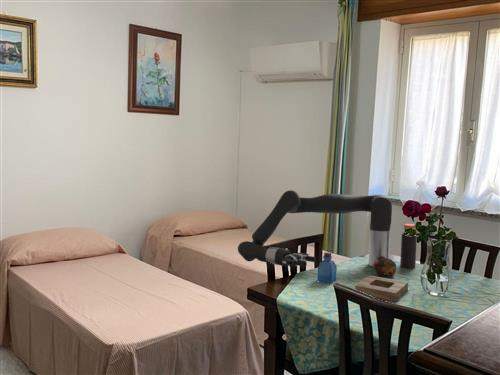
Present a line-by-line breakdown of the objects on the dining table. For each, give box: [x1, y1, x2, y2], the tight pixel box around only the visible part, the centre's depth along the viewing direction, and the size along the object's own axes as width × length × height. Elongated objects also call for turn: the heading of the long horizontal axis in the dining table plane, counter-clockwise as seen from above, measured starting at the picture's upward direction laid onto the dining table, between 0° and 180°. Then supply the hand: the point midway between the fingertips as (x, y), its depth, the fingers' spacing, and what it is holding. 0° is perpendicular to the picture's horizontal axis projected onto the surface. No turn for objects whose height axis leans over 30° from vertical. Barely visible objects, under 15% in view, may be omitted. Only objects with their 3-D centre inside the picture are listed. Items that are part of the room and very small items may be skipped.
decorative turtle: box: [373, 256, 398, 278], centre depth 217 cm, size 10×15×8 cm, turn 7°
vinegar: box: [400, 223, 418, 269], centre depth 232 cm, size 7×7×20 cm
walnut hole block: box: [354, 275, 409, 303], centre depth 196 cm, size 16×16×4 cm
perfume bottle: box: [317, 252, 338, 285], centre depth 209 cm, size 6×6×12 cm
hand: (310, 261), depth 214 cm, fingers open, 8 cm apart
